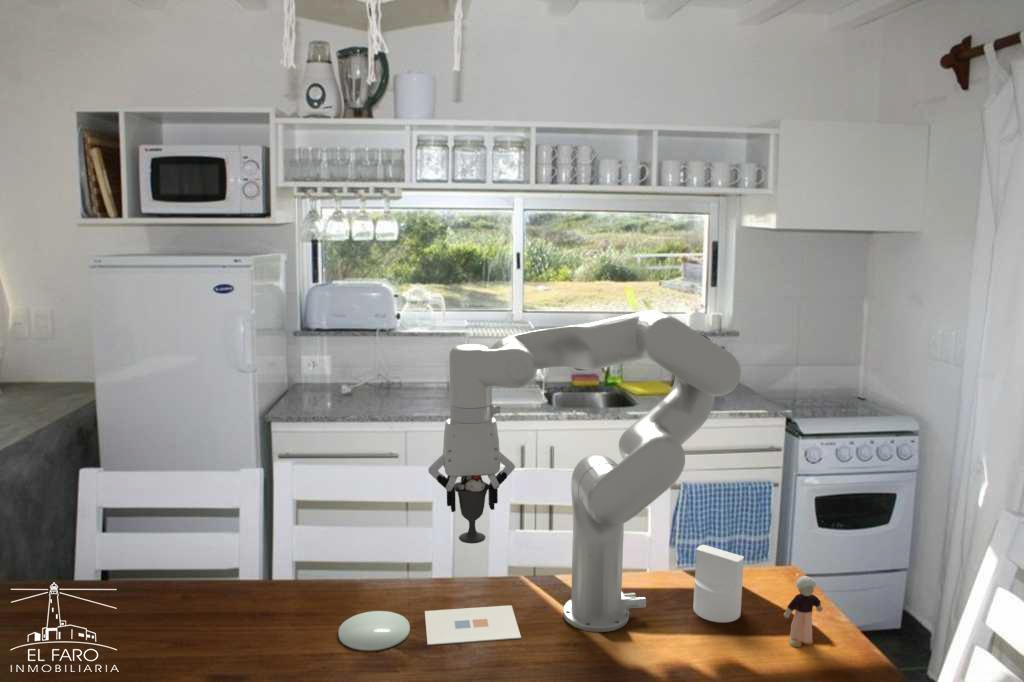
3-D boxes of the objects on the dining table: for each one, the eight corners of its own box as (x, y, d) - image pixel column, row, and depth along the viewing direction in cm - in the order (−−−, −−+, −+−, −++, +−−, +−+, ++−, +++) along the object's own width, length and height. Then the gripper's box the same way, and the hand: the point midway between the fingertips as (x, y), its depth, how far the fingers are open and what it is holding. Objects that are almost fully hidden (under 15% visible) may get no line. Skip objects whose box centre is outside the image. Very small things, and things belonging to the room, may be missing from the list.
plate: (409, 611, 158) (409, 608, 158) (410, 647, 145) (410, 644, 145) (340, 616, 156) (340, 613, 156) (336, 653, 143) (336, 650, 143)
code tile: (511, 606, 160) (511, 605, 160) (521, 638, 149) (521, 637, 148) (424, 612, 158) (424, 610, 158) (427, 645, 146) (427, 644, 146)
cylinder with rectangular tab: (748, 609, 160) (751, 551, 158) (727, 627, 153) (731, 567, 151) (706, 595, 165) (709, 539, 163) (684, 611, 159) (687, 553, 157)
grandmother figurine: (795, 652, 145) (799, 585, 142) (778, 641, 148) (783, 576, 146) (825, 641, 148) (831, 576, 146) (809, 631, 151) (814, 567, 149)
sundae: (486, 547, 146) (485, 467, 144) (450, 543, 148) (449, 464, 145) (494, 532, 153) (494, 455, 150) (459, 529, 154) (459, 453, 151)
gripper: (515, 406, 151) (515, 498, 154) (421, 410, 149) (423, 503, 152) (522, 417, 144) (522, 513, 147) (423, 421, 141) (425, 518, 144)
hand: (472, 507), depth 149 cm, fingers closed on sundae, 6 cm apart
